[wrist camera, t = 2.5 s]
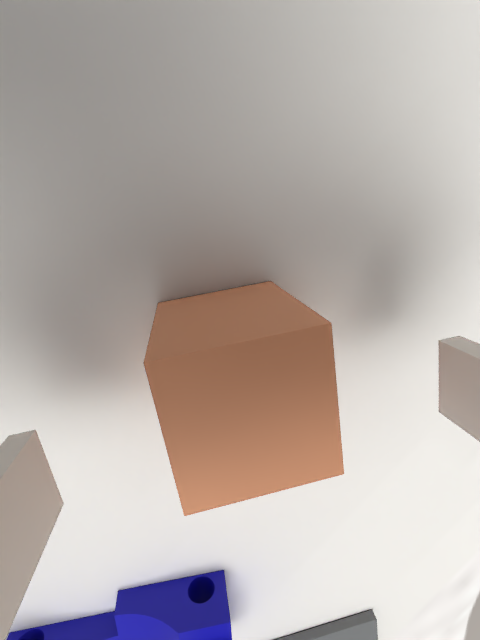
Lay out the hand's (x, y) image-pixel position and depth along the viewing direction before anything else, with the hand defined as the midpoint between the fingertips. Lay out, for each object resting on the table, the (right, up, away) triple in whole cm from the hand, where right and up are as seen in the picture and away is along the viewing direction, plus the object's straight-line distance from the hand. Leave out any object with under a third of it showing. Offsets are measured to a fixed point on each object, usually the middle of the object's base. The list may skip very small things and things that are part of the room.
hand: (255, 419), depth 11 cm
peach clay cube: (-1, +2, +5) cm, 6 cm away
